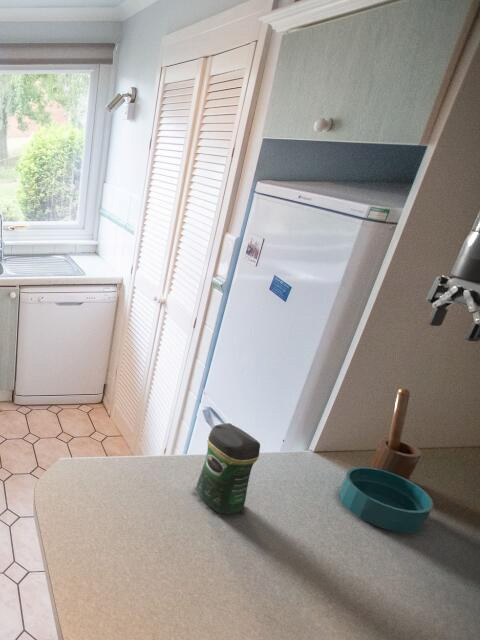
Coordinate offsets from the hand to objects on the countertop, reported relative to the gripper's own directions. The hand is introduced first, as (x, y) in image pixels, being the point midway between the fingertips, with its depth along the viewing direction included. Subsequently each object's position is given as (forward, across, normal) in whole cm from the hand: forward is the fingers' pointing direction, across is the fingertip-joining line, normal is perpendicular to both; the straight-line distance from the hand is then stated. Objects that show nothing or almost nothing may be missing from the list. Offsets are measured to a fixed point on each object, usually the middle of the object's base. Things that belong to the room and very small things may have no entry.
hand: (452, 332), depth 94 cm
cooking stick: (+37, 0, 0) cm, 37 cm away
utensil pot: (+38, 0, 0) cm, 38 cm away
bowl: (+38, -11, +10) cm, 41 cm away
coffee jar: (+38, -10, +44) cm, 59 cm away
